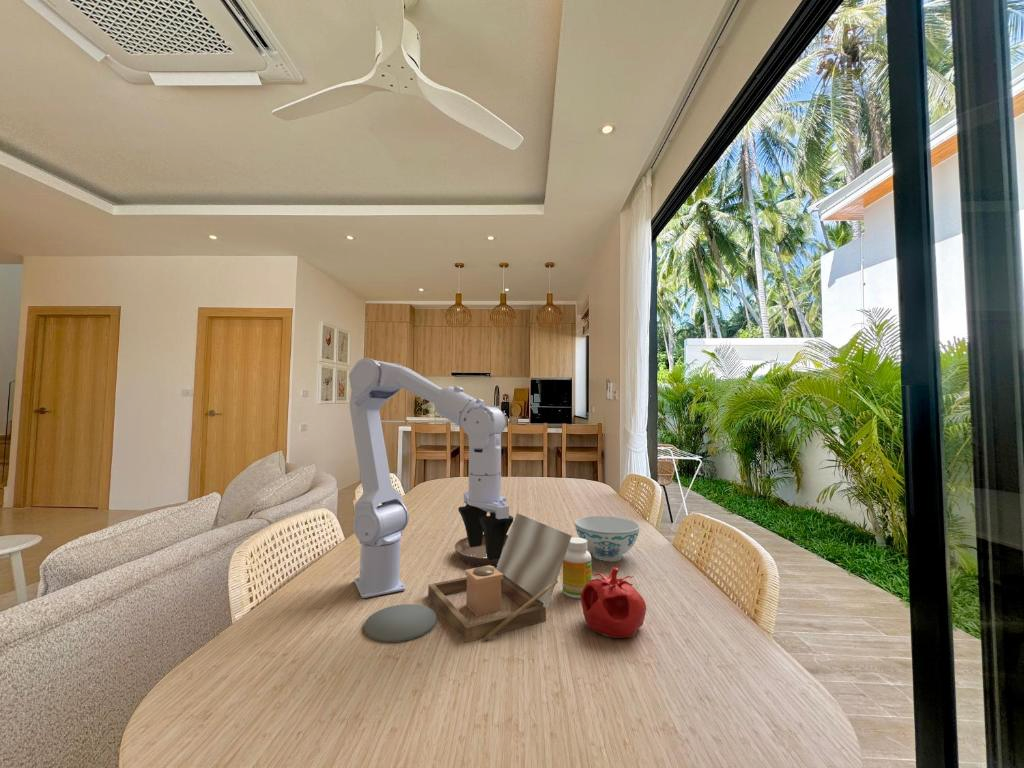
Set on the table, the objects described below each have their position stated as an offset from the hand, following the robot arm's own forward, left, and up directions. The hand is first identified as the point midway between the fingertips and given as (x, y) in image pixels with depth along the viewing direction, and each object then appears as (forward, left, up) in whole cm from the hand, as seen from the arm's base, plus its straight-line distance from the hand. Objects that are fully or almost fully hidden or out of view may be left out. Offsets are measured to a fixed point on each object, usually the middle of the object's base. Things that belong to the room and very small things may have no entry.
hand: (484, 552), depth 73 cm
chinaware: (-10, +37, -10) cm, 40 cm away
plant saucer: (-23, +13, -10) cm, 28 cm away
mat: (-1, -14, -9) cm, 17 cm away
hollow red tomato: (+16, +15, -10) cm, 24 cm away
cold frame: (+1, +3, -9) cm, 10 cm away
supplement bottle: (+3, +18, -10) cm, 21 cm away
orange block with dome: (0, 0, -9) cm, 9 cm away
